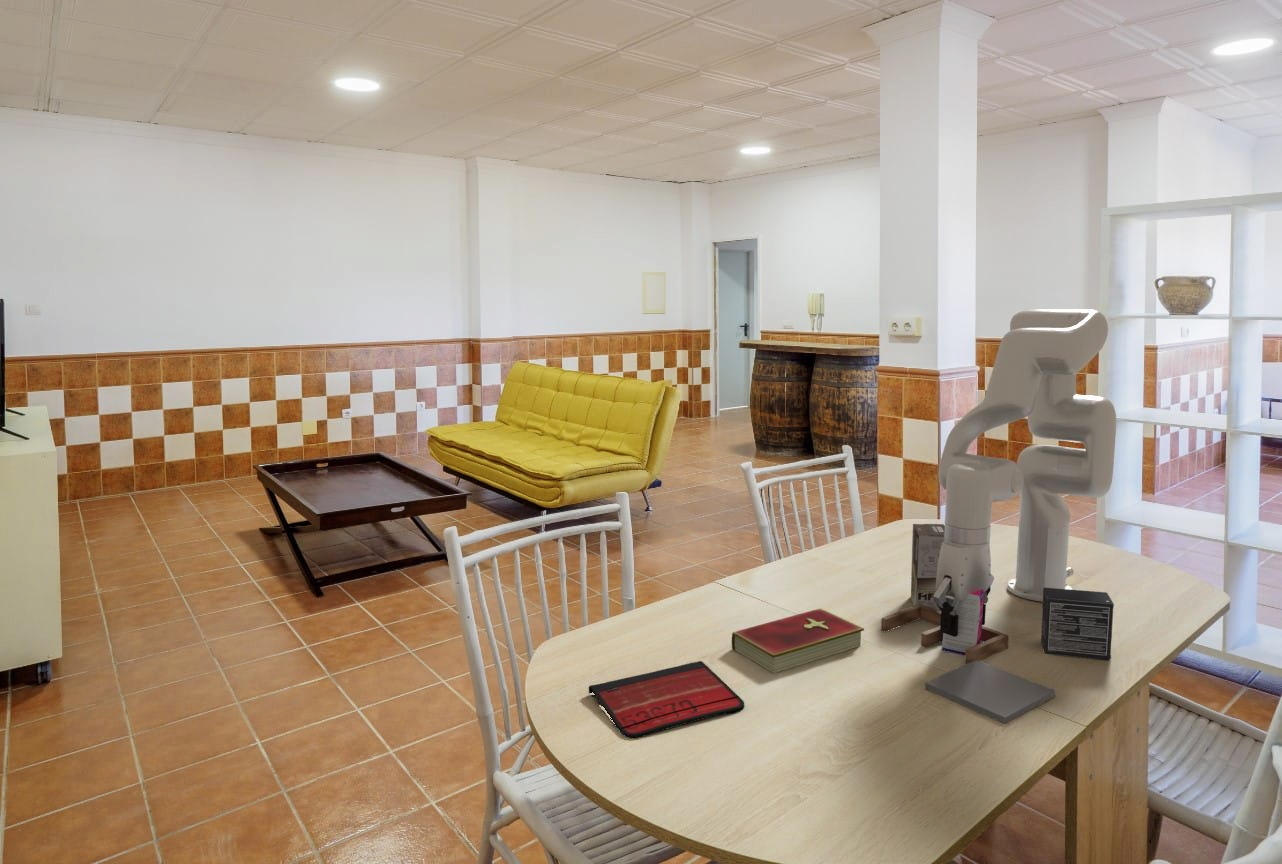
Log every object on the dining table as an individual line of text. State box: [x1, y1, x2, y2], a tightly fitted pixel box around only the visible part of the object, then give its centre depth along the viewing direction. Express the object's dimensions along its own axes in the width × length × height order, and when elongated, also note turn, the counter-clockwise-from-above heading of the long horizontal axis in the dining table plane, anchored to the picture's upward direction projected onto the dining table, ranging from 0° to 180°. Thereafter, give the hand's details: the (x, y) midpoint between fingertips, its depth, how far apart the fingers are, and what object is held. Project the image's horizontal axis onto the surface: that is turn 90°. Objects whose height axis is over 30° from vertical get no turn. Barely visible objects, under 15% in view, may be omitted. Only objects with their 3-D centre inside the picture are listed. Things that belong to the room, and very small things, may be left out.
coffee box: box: [910, 523, 945, 611], centre depth 169 cm, size 9×6×16 cm
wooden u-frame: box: [880, 604, 1010, 665], centre depth 153 cm, size 12×19×2 cm, turn 35°
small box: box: [1040, 588, 1115, 661], centre depth 147 cm, size 11×6×10 cm, turn 71°
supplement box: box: [941, 590, 984, 656], centre depth 148 cm, size 6×6×12 cm
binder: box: [588, 660, 745, 739], centre depth 132 cm, size 16×2×21 cm
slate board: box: [924, 660, 1057, 725], centre depth 133 cm, size 14×14×1 cm
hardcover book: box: [731, 607, 865, 674], centre depth 151 cm, size 12×21×4 cm, turn 120°
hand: (962, 627), depth 149 cm, fingers closed on supplement box, 7 cm apart
